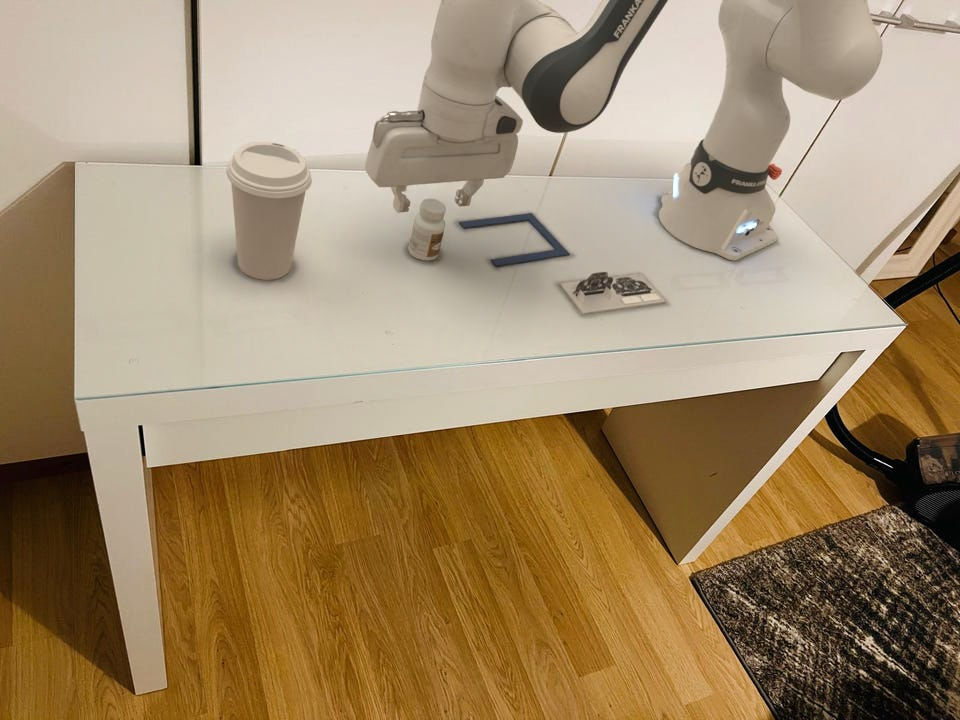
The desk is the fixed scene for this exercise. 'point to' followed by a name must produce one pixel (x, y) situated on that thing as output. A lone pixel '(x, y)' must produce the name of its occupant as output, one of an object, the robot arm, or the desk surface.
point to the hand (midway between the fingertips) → (431, 206)
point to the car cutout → (611, 293)
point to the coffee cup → (267, 206)
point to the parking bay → (522, 258)
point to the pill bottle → (427, 230)
